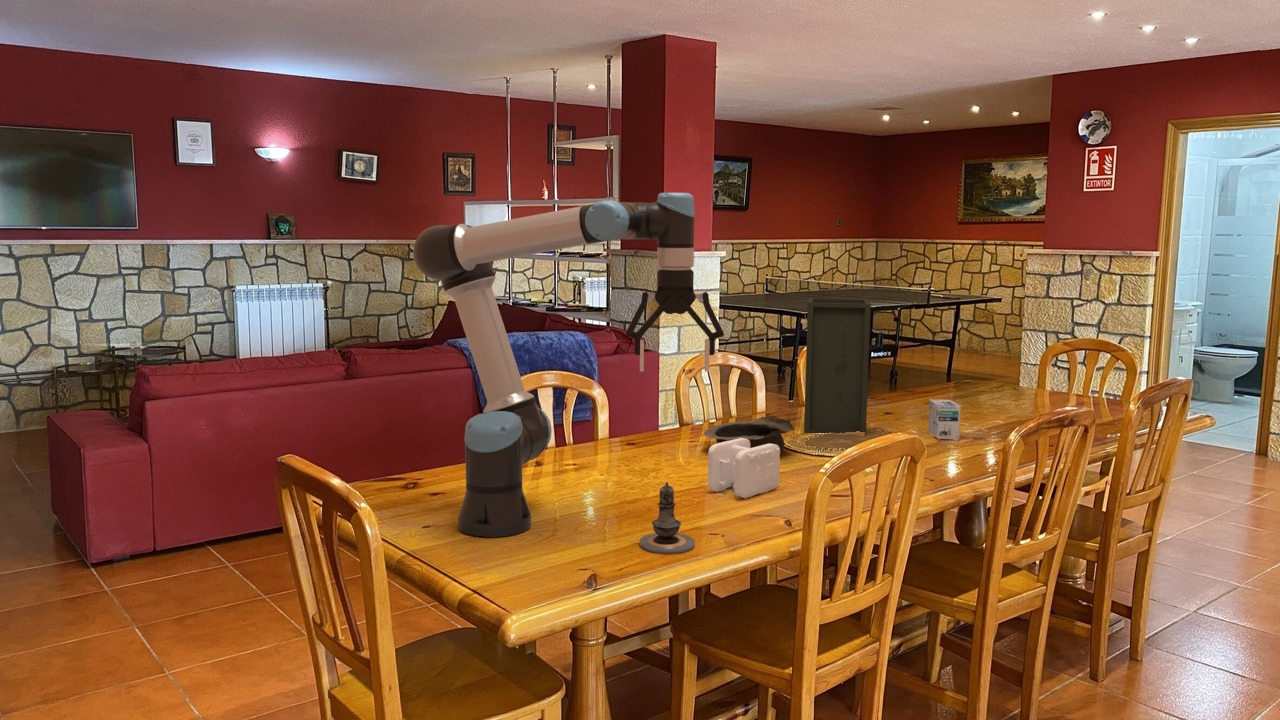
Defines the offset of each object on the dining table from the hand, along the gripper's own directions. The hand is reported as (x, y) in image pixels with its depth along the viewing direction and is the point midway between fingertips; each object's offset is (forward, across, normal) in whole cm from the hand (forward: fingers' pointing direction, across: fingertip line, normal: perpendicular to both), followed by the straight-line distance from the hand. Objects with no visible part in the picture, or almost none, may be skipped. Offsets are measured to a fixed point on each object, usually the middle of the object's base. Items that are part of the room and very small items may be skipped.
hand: (674, 370), depth 203 cm
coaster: (+33, +2, +15) cm, 36 cm away
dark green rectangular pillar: (+33, -55, -96) cm, 116 cm away
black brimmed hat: (+33, -24, -65) cm, 77 cm away
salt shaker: (+32, +2, +15) cm, 35 cm away
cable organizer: (+33, -18, -24) cm, 45 cm away
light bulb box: (+33, -86, -85) cm, 125 cm away
